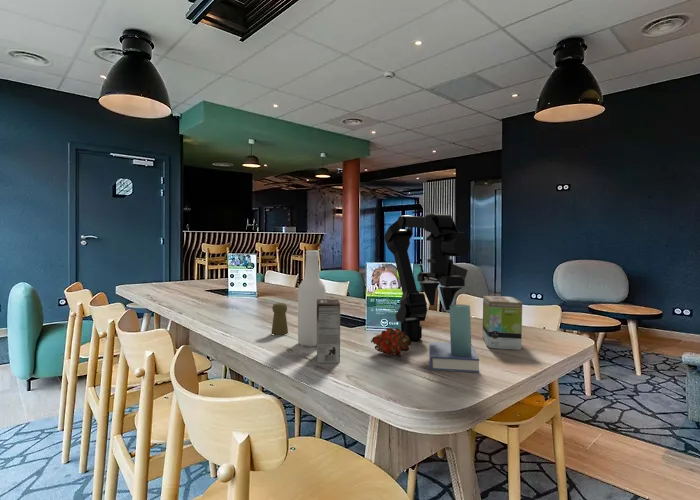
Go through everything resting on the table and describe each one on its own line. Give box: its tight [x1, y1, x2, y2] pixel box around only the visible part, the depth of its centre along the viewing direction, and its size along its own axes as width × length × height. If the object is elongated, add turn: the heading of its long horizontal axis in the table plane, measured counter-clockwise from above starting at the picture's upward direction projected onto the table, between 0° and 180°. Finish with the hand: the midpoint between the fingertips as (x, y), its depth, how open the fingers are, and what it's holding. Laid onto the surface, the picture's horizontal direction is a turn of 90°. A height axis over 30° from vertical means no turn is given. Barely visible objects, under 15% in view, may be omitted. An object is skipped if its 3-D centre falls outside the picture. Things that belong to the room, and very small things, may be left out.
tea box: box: [482, 295, 523, 350], centre depth 128 cm, size 15×10×15 cm
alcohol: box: [297, 249, 327, 347], centre depth 127 cm, size 9×9×30 cm
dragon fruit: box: [370, 327, 412, 357], centre depth 115 cm, size 8×8×12 cm
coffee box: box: [316, 298, 341, 364], centre depth 111 cm, size 9×6×16 cm
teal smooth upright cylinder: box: [449, 303, 472, 356], centre depth 104 cm, size 5×5×12 cm
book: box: [428, 341, 480, 374], centre depth 108 cm, size 12×16×3 cm
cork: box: [271, 302, 289, 335], centre depth 141 cm, size 6×6×11 cm
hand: (439, 307), depth 119 cm, fingers open, 9 cm apart
